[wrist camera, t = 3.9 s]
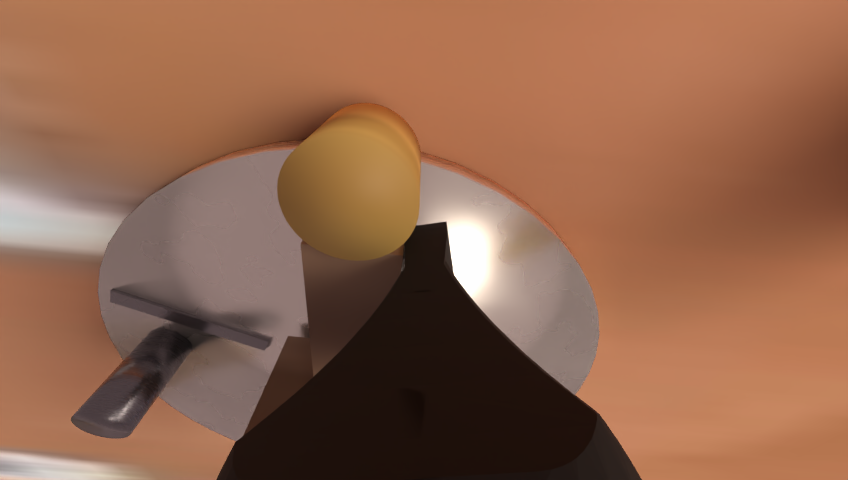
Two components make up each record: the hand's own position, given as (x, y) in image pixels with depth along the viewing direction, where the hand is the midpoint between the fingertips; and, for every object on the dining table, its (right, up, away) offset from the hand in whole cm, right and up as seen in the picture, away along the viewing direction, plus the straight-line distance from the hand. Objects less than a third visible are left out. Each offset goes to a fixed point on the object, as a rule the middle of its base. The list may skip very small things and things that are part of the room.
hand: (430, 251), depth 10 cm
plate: (-3, -6, +6) cm, 9 cm away
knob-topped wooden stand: (-3, -3, +2) cm, 4 cm away
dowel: (-11, -4, +5) cm, 13 cm away
